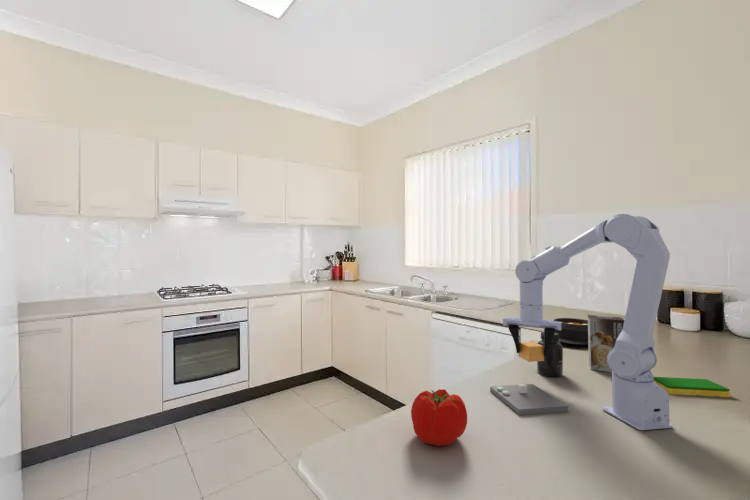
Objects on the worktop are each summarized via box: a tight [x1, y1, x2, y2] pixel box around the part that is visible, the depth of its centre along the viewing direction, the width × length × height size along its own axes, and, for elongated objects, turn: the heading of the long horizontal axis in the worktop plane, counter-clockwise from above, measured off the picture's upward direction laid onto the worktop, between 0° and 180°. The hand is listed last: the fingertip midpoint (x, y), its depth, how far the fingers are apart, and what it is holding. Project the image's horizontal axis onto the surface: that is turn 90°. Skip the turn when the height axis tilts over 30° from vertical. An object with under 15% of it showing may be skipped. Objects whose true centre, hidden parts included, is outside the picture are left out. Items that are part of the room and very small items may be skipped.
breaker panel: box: [489, 383, 569, 416], centre depth 81 cm, size 13×12×2 cm
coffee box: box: [587, 314, 625, 373], centre depth 104 cm, size 9×6×16 cm
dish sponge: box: [653, 376, 731, 398], centre depth 88 cm, size 7×14×2 cm, turn 82°
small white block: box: [517, 383, 527, 394], centre depth 83 cm, size 1×2×2 cm
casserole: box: [553, 317, 588, 346], centre depth 136 cm, size 25×19×8 cm
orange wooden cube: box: [518, 341, 544, 363], centre depth 92 cm, size 4×4×4 cm
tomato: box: [410, 389, 468, 447], centre depth 64 cm, size 11×11×9 cm
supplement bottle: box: [536, 331, 564, 378], centre depth 100 cm, size 7×7×12 cm
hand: (531, 353), depth 92 cm, fingers closed on orange wooden cube, 6 cm apart
